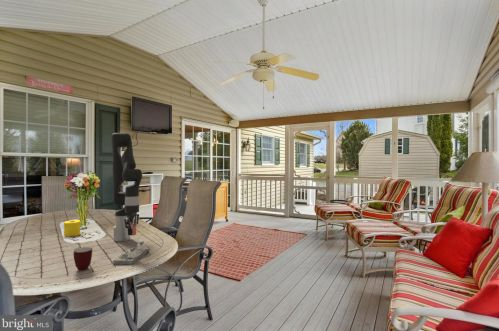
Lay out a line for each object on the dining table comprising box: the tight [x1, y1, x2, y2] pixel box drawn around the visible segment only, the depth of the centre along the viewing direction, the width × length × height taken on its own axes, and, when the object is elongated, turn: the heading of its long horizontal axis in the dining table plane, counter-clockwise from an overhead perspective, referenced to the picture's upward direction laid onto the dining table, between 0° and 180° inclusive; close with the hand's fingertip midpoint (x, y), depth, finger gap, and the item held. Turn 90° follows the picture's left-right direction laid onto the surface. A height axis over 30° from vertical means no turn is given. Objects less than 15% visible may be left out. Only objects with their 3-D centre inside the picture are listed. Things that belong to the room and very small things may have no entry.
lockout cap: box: [130, 224, 137, 237], centre depth 157 cm, size 4×4×6 cm
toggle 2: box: [136, 240, 147, 251], centre depth 163 cm, size 4×3×4 cm
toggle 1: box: [128, 247, 138, 258], centre depth 151 cm, size 4×3×4 cm
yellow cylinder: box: [63, 219, 81, 237], centre depth 202 cm, size 10×10×9 cm
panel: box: [113, 246, 149, 266], centre depth 157 cm, size 10×22×3 cm, turn 178°
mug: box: [73, 246, 93, 272], centre depth 140 cm, size 10×8×10 cm
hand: (132, 233), depth 157 cm, fingers closed on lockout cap, 4 cm apart
